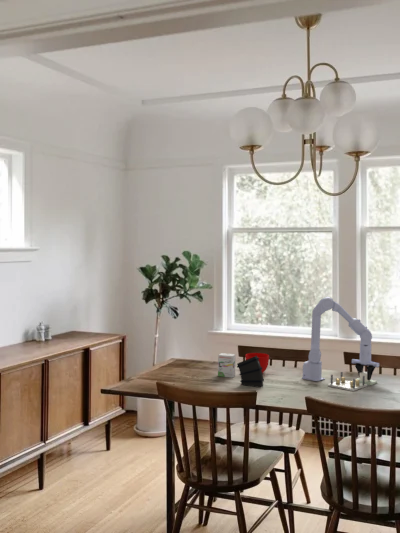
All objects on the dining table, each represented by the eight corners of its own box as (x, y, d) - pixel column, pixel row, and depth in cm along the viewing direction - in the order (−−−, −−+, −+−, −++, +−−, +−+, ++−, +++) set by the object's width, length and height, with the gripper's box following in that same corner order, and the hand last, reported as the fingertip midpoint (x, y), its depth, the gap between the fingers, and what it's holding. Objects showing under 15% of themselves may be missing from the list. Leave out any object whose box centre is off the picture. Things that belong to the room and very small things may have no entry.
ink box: (217, 376, 305) (217, 354, 305) (220, 374, 310) (220, 352, 310) (232, 377, 302) (232, 355, 302) (235, 375, 307) (235, 354, 307)
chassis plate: (327, 386, 286) (328, 375, 285) (342, 381, 296) (342, 371, 295) (353, 391, 276) (353, 379, 276) (367, 386, 286) (367, 375, 286)
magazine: (266, 385, 280) (255, 356, 282) (244, 393, 285) (233, 365, 288) (269, 383, 283) (257, 355, 286) (247, 391, 289) (236, 364, 291)
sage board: (352, 381, 295) (352, 372, 295) (359, 379, 300) (359, 370, 300) (370, 385, 288) (370, 375, 288) (377, 382, 293) (377, 373, 293)
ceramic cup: (275, 371, 320) (276, 353, 320) (262, 376, 306) (262, 358, 305) (255, 368, 327) (255, 351, 327) (241, 373, 313) (241, 355, 312)
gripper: (382, 353, 292) (381, 380, 292) (356, 350, 302) (356, 375, 302) (375, 355, 287) (375, 382, 287) (349, 351, 297) (349, 377, 297)
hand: (364, 379), depth 294 cm, fingers closed on sage board, 4 cm apart
